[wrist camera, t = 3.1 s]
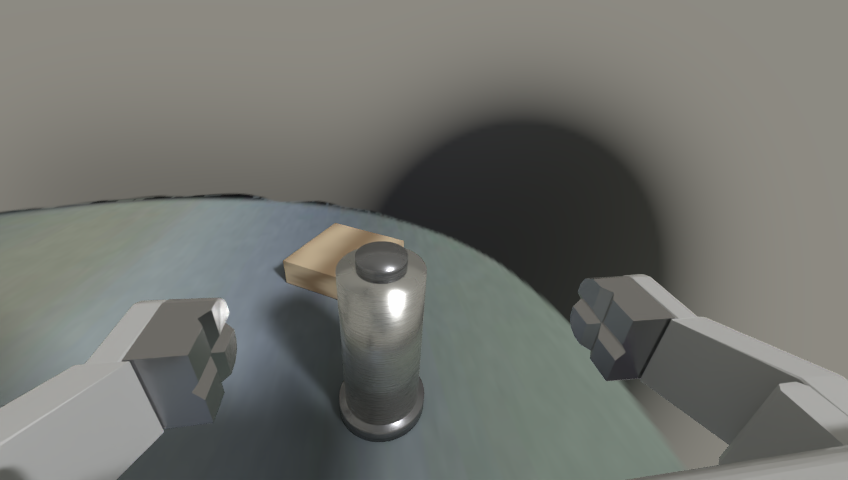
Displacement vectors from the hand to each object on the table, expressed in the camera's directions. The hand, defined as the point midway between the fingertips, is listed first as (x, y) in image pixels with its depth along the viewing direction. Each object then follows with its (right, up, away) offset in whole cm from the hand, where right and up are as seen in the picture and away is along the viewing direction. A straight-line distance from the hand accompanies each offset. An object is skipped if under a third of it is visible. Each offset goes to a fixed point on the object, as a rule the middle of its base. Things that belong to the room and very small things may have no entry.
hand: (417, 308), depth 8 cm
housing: (-3, -11, +21) cm, 24 cm away
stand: (-9, -2, +36) cm, 37 cm away
